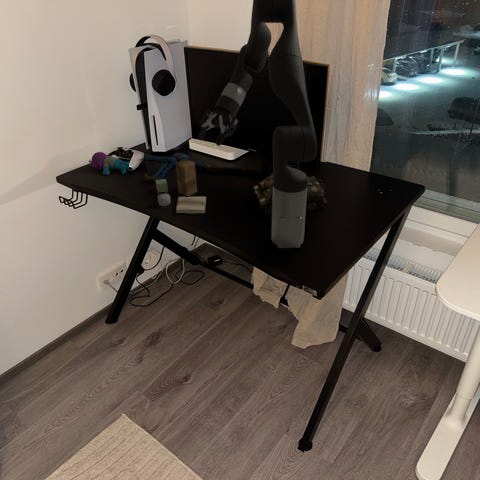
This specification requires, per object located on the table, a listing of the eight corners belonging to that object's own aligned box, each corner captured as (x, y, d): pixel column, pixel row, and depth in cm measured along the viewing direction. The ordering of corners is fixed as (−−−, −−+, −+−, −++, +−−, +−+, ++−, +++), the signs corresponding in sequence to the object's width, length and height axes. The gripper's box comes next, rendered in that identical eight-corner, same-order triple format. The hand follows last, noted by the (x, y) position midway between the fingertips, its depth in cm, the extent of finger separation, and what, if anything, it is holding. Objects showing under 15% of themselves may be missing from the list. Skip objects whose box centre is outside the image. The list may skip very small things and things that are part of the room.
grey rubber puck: (170, 207, 148) (169, 199, 146) (157, 207, 148) (156, 199, 146) (171, 201, 151) (170, 193, 150) (159, 201, 151) (158, 193, 150)
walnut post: (197, 192, 156) (194, 162, 150) (187, 196, 154) (184, 166, 148) (188, 188, 159) (185, 159, 153) (178, 192, 156) (175, 163, 150)
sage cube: (168, 192, 157) (167, 183, 155) (158, 193, 156) (156, 184, 154) (166, 187, 160) (165, 178, 158) (156, 189, 159) (155, 180, 157)
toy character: (113, 168, 165) (149, 144, 184) (115, 179, 168) (150, 154, 187) (187, 180, 156) (216, 153, 175) (188, 191, 158) (217, 164, 177)
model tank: (252, 197, 153) (252, 155, 145) (316, 191, 156) (319, 149, 148) (260, 216, 142) (260, 172, 134) (328, 209, 145) (333, 166, 137)
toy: (134, 170, 178) (99, 159, 180) (135, 154, 174) (99, 143, 176) (118, 183, 168) (82, 172, 171) (118, 167, 164) (81, 156, 167)
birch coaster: (204, 213, 144) (204, 209, 143) (176, 213, 144) (176, 210, 143) (206, 199, 152) (205, 196, 151) (179, 200, 152) (178, 197, 151)
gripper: (210, 90, 156) (187, 131, 156) (240, 98, 148) (217, 141, 147) (221, 102, 162) (200, 142, 162) (251, 110, 154) (229, 152, 154)
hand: (208, 141), depth 155 cm, fingers open, 8 cm apart
